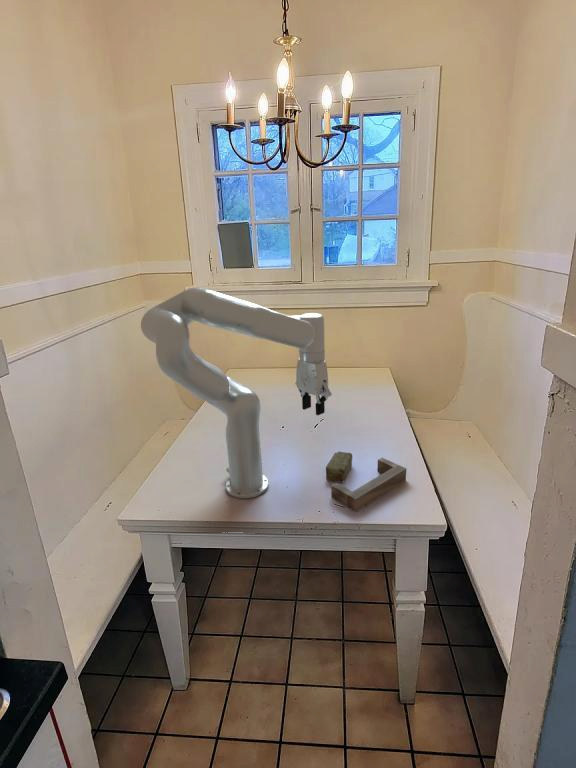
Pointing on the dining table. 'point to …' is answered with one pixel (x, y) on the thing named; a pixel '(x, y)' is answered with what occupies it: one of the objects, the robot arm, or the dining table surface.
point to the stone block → (339, 467)
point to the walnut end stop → (370, 486)
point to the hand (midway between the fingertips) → (313, 410)
